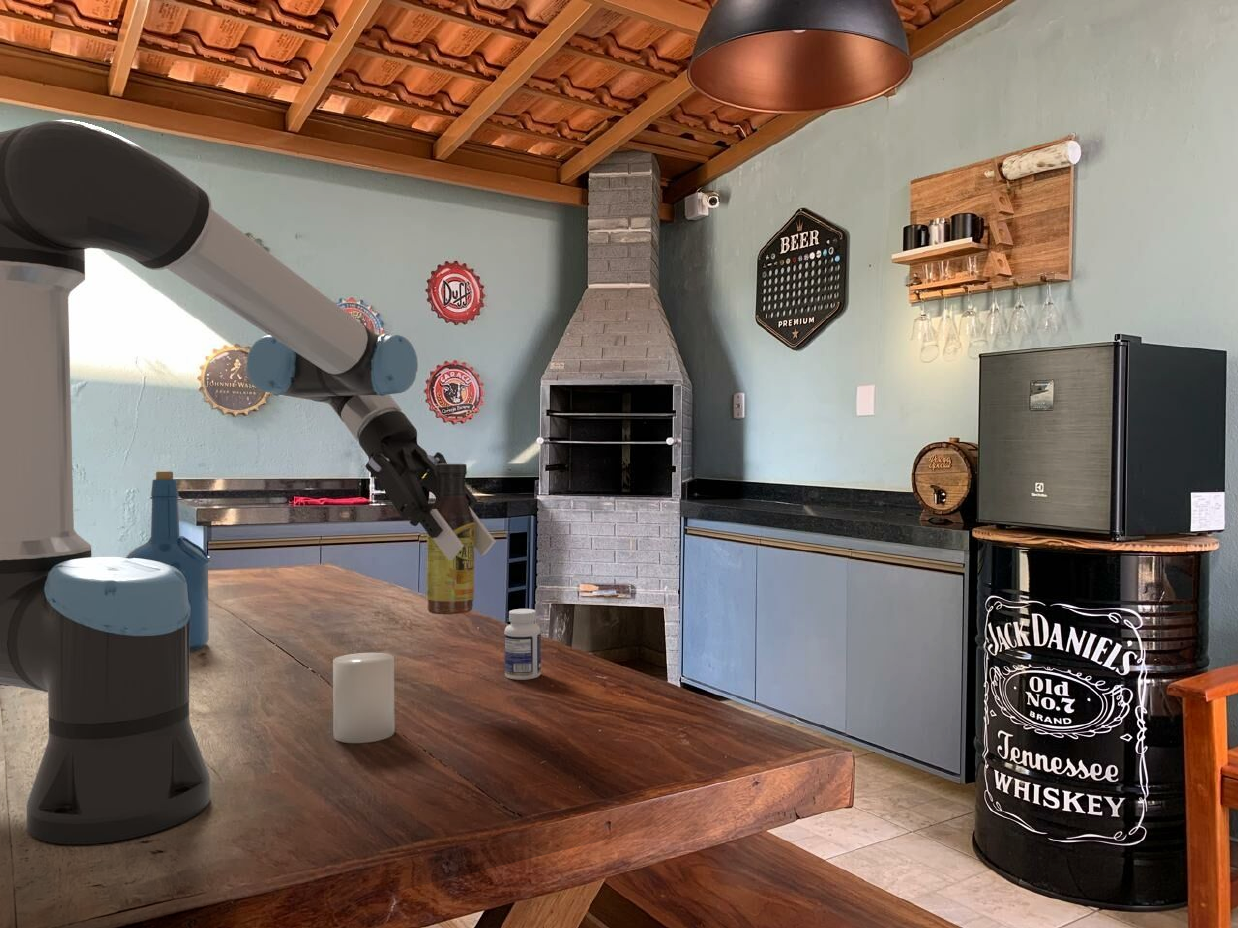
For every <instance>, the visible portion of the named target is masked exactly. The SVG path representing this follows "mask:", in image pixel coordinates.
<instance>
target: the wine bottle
mask: <svg viewBox="0 0 1238 928" xmlns="http://www.w3.org/2000/svg"><path fill="white" fill-rule="evenodd" d="M150 491H151V493H150V497H149V499H150V500H151V516H150V519H151V520H150V537H149V539H148V540H147V541H146V542H145V543H143V544H141V545H140V546H137V547H136V548H134V549H133V550H130V551H129V552H128V553H127V554H126V556H125V558H129V559H130V558H140V559H147V560H153V561H158V562H162V563H165V564H168V565H171V566H173V567H175V568H176V569H178V570H179V571H180V572H181V573H182V574H183V576H184V577H185V579H186V583H187V593H188V602H189V605H190V608H191V612H190V652H193V651H196V650H199V649H201V648H203V647H205V646H207V644H208V641H209V638H210V637H209V634H210V633H209V629H210V628H209V626H210V625H209V624H210V623H209V621H210V620H209V619H210V618H209V566H208V565H209V564H210V563H211V560H212V559H211V557H210V556H209V554H208V553H207V552H206V551H205V550H204V549H203V548H202V547H201V546H199V545H198V544H195V543H194V542H192V541H191V540H190V539H188V538H186V537H185V536H183V535H180V523H179V522H180V521H179V519H180V518H179V502H178V501H179V500H178V499H180V496H179V488H178V480H177V479H176V478H174V472H173V471H172V470H158V471H156V472H155V478H154V479H152V483H151V489H150Z"/></svg>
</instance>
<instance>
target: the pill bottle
mask: <svg viewBox="0 0 1238 928" xmlns="http://www.w3.org/2000/svg"><path fill="white" fill-rule="evenodd" d="M536 611H537V610H535V609H532V608H518V609H517V608H516V609H512V610H509V611H508V619H509V620H508V621H509V622H510V624H508V625H506V627H505V629H504V633H503V634H504V639H503V640H504V676H505V677H506V679H510V680H516V681H527V680H534V679H536V678H539V677H540V675H541V674H542V646H541V645H542V637H541V636H542V635H541V634H542V633H541V630H542V629H541V627H540V626H539V624H536V623H535V622H536V620H537V612H536Z"/></svg>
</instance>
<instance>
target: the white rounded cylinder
mask: <svg viewBox="0 0 1238 928" xmlns="http://www.w3.org/2000/svg"><path fill="white" fill-rule="evenodd" d="M394 658H395V656H394V655H392V654H390V653H385V652H358V653H350V654H344V655H340V656H338V657H335V658H333V660H332V700H333V701H332V709H333V711H332V714H333V716H332V717H333V719H332V721H333V727H332V728H333V730H332V731H333V732H332V733H333V740H335V741H337V742H340V743H346V744H368V743H374V742H379V741H382V740H385V739H388V738H390V737H392V736H393V735H394V734H395V662H394V661H395V659H394Z"/></svg>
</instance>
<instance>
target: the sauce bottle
mask: <svg viewBox="0 0 1238 928" xmlns="http://www.w3.org/2000/svg"><path fill="white" fill-rule="evenodd" d="M467 466H468V465H467V464H466V463H447V464H436V474H437V496H438V498H437V497H436V499H435V502H434V503H433V504H432V506H431V507H430V510H429V512H431V511H432V509H437V510H438V512H439V513H440V514H441V516H442V517H443V518H444V520H445V521H446V522H447V524H448V525H449V526H450V528H451V529H452V531H453V532H454V533H455V535H456V536H457V537H458V539H459V540H460V541H461V543H462V544H463V545H464V547H463V548H462V549H461V550H460V551H459V553H458V554H457V555H456V556H455V557H454V558H453V560H448V559H447V558H446V556H445V555H444V554H443V552H442V551H441V549H440V548H439V547H438V545H437V544H436V543H435V541H434V540H433V539H432V537H430V536H429V535H428V533H427V532H426V533H427V534H426V537H427V538H426V599H427V611H428V612H429V613H431V614H433V615H451V616H452V615H459V614H465V613H470V612H471V611H472V609H473V607H474V606H473V604H474V603H473V602H474V599H475V546H474V535H475V523H474V519H473V516H472V514H471V511H470V508H469V505H468V502H467V499H466V492H465V486H466V476H467V472H468V470H467Z"/></svg>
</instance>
